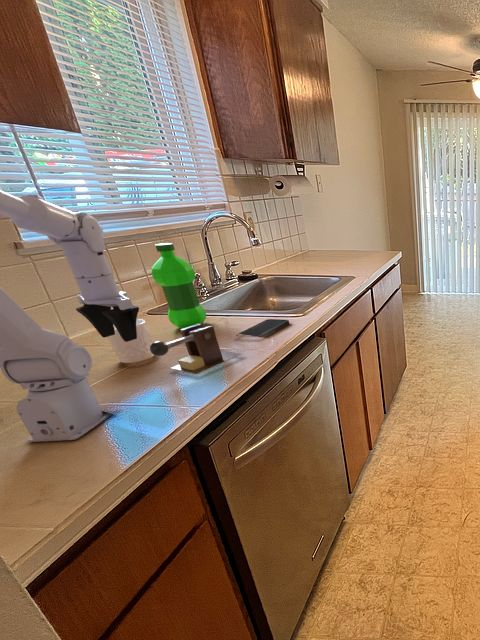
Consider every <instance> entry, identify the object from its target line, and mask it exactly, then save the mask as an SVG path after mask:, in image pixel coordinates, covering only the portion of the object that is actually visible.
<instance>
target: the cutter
mask: <svg viewBox="0 0 480 640" xmlns="http://www.w3.org/2000/svg"><path fill="white" fill-rule="evenodd" d="M198 329H201V328H198ZM198 329H195V330H198ZM195 330H192V331H189V334H190V335H189V336H186V337H183V336H182V337H181V338H177V339H175V340H172V341H168V342H164V341H160V340H157V341H154V342H152V344H151V346H150V351H151V353H152V354H154V356H157V357H162V356H165V355H167V353H169V349H172V348H174V347H178V346H180V345H182V344H185V343H186V342H189V341H195V339H194V336H193V333H192V332H193V331H195Z"/></svg>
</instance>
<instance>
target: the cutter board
mask: <svg viewBox="0 0 480 640" xmlns="http://www.w3.org/2000/svg"><path fill="white" fill-rule="evenodd" d="M198 328H201V329H198ZM195 329H198V330H195ZM192 330H195V331H193V332H192V333H193V336H194V339H195V341H189V342H186V343H184V345H185V348H186V350H187V354H188V356H193V355H194V356H199V357H201V358H203V360H204V363H205V366H203V367H200V368H198V369H196V370H189V369H184V368H180V365H179V364H177V365H174V366H172V367H171V369H173V370H176V371H181V372H186V373H191V374H195V375H196V374H197V375H198V374H200V373H202V372H205V371H207V370H209V369H211V368H213V367H216V366H218V365H221V364H223V363H225V362H227V361H229V360H232V359H235V358H237V357H239V356H241V355H242V353H239V352H234V351H228V350H223V349H221V348H220V344H219V342H218V339H217V334H216V332H215V328H214V326H213V325H208V326H205V327H203V326H202V324H196V325H193V326H190V327H187V328H184V329H182V328H180V333H181V336H182V338H183V337H186V336H189V335H190V334H189V331H192Z"/></svg>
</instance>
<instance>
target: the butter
mask: <svg viewBox="0 0 480 640" xmlns="http://www.w3.org/2000/svg"><path fill="white" fill-rule="evenodd" d="M177 363H178V365H180V368H184V369H189V370H196V369H198V368H200V367H203V366H205V363H204V360H203V358H201V357H199V356H194V355H193V356H189V355H187V356H185V357H182V358H180V359H177Z"/></svg>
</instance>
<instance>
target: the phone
mask: <svg viewBox="0 0 480 640" xmlns="http://www.w3.org/2000/svg"><path fill="white" fill-rule="evenodd" d="M289 325H290V320H288V319H277V318H276V319H275V318H268V319H265V320H263V321H261V322H258V323H257V324H255V325H253V326H251V327H248V328H247V329H245V330H243V331H241V332H238V333H237V334H235V336H236V337H240V335H242V336H248V337H249V338H251V337H253V338H263V339H266V338H267V337H269V336H271V335H272V334H274V333H276V332H278V331H280V330H282V329H283V328H285V327H287V326H289Z"/></svg>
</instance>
